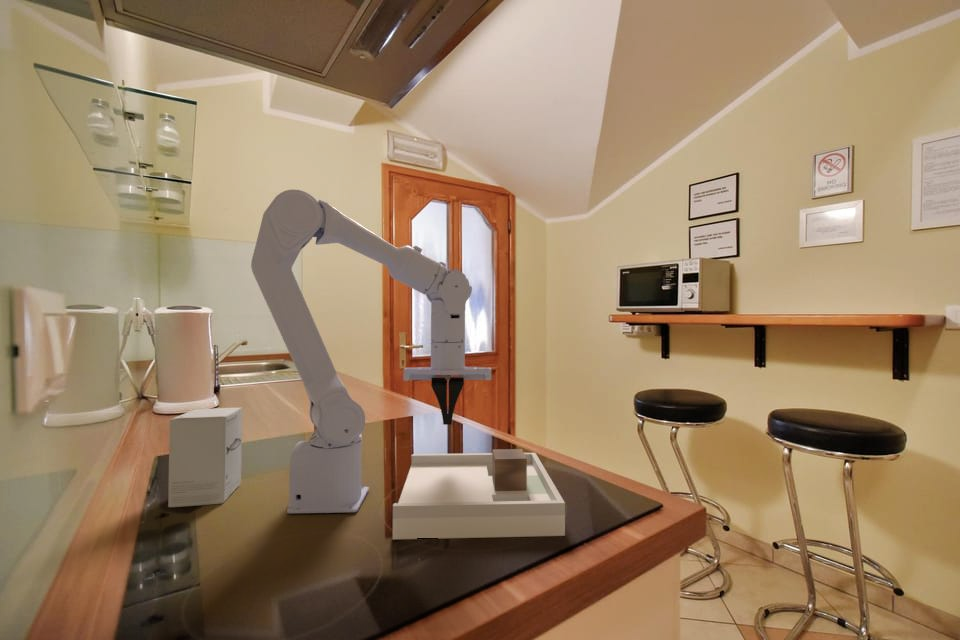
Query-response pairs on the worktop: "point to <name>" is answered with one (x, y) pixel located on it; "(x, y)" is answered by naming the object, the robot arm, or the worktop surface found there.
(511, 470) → the walnut block
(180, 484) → the supplement box
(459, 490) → the box
